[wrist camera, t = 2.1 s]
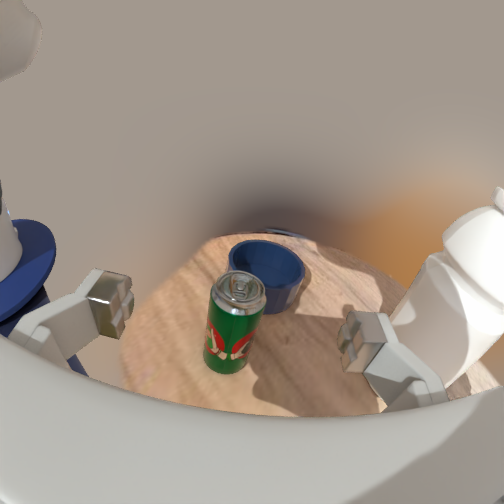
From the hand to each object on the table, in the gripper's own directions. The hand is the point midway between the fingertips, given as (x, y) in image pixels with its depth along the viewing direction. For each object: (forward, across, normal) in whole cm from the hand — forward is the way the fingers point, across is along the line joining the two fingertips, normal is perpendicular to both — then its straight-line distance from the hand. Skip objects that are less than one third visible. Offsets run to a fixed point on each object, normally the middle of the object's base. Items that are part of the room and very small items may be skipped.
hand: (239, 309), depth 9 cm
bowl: (+26, -4, +19) cm, 32 cm away
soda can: (+12, 0, +20) cm, 24 cm away
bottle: (+12, -25, +21) cm, 35 cm away
